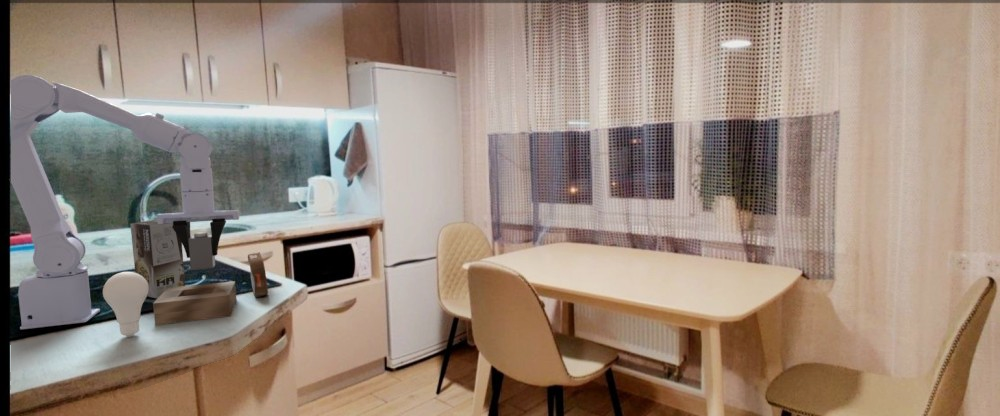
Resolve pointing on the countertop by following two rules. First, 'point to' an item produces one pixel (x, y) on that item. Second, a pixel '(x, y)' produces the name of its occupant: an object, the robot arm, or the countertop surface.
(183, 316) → the holder
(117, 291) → the lightbulb
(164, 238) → the coffee box
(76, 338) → the countertop surface
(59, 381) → the countertop surface
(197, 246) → the plug
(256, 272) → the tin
